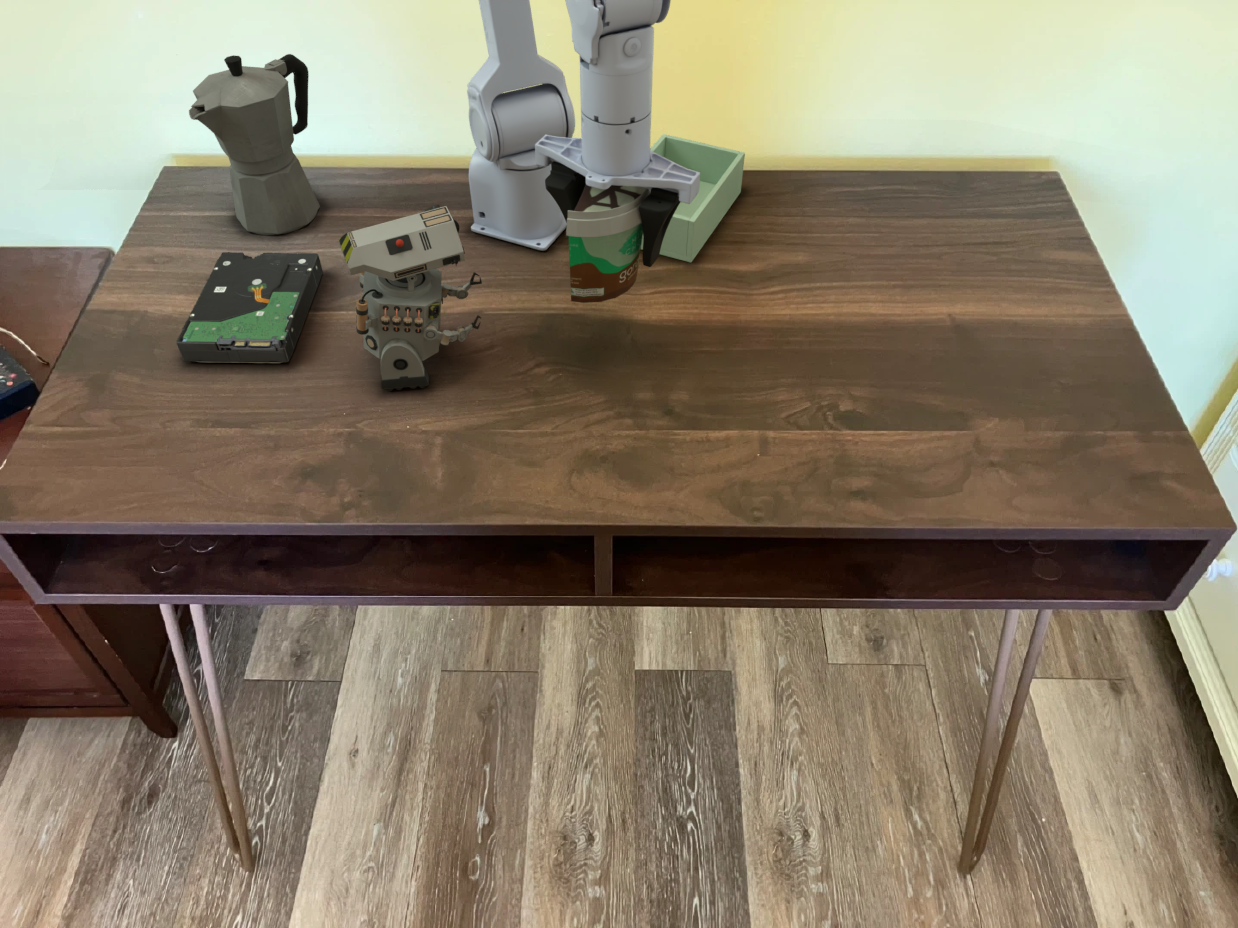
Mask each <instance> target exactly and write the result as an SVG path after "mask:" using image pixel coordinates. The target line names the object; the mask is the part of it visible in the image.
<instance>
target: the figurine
mask: <svg viewBox="0 0 1238 928" xmlns="http://www.w3.org/2000/svg"><path fill="white" fill-rule="evenodd" d="M450 212H451V211H449V209H448V207H447V205H445V206H441V205H440V204H434V205H433V206H430V207H427V208H425V209H424V210H423V212H418V213H415V214H414V213H413V214H410V215H407V216H403V217H400V218H396V219H392V220H388V221H385V222H382V223H378V224H374V225H370V226H366V227H363V228H359V229H355V230H352V231H349V232H348V231H347V232H346V233H345V234H344V235H342V236H341V237H339V238H338V239H337V240H338V243H339V246H340V249H341V252H342V254H343V258H344V261H345V264H346V266H347V268H348V271H349V275H350V276H354V275H358V274H359V287H360V288H361V289H362V296H361V298H358V299H357V300H356V307H355V312H356V315H355V323H356V328H355V329H356V330H355V331H356V334H359V335H360V336H361V335H362V336H363V349H365V350H366V351H368V352H369V354H370V353H371V354H372V355H373V356H374V357H376V358H378V359H379V360H380V390H387V391H389V392H391V391H393V390H394V389H395V390H397V391H401V390H402V389H403V388H410V389H412V390H413V389H417V387H419V388H421V389H424V388H426V386H429V385H430V383H429V382H430V380H429V379H430V377H429V374H428V371H427V369H426V368H425V367H424V364H423V362H424V361H425V360H427V359H429V358H431V357H432V356H434V355H435V354H437V353H439V350H440V349H439V348H440V345H443V346H449V345H450V342H451V343H453V342H456V341H458V342H460V343H461V342H464V341H465V340H466V339H467V337H468V333H469V332H471V331H473V329H475V330H479V329H480V325H481V321H479V323H478V324H477V322H478V320H479V319H482V316H480V315H479V314H478V315H477V316H476V317H475V318H474V321H473V322H471V323H470V324H468V325H467V326H465V327H464V326H462V325H459V326H458V327H457V328H455V330H450V329H444V330H443V331H441V318H442V317H441V315H442V314H441V313H442V305H443V304H444V299H447V297H455V298H456V299H458V300H464V299H467V298H468V296H469V290H470V289H471V288H472V287H473V286H475V285H482V283H483V282H482V278H481V276H480V274H478V273H477V272H475V271H473V273H472V275H471V277H470V280H469V281H468V282H466V284H464V285H457V286H453V285H450V284H448V283H446V282H445V283H442V271H441V270H439V269H440V268H444V267H447V266H450V265H455V266H456V267H457V266H458V265H459V263H461V262H464V261H466V259H465V258H466V257H465V254H466V253H465V248H464V245H462V241H461V239H460V235H459V232H460V224H459V222H458V221H457V220H456V219H454V218H453V216H452V214H451V213H450ZM475 276H477V277H479V281H475ZM476 324H477V325H476Z"/></svg>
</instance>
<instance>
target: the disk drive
mask: <svg viewBox="0 0 1238 928" xmlns="http://www.w3.org/2000/svg"><path fill="white" fill-rule="evenodd" d="M323 273H324V271H323V267H322V263H321V259H320V255H319V254H318V253H317V252H316V253H315V252H312V253H309V252H304V253H303V252H302V253H301V252H300V253H299V252H298V253H295V252H294V253H293V252H291V253H290V252H262V253H261V254H259V255H257V256H254V258H253V257H252V256H249V255H247V254H246V255H245V253H244V252H239V251H238V252H237V251H236V252H234V251H233V252H231V251H229V252H227V251H223V252H221V253H220V256H219V257H218V258H217V260H216V262H215V264H214V266H213V269H212V270H211V272H210V274H209V276H208V278H207V279H206V282H205V285H204V286H203V289H202V290H201V293H200V294H199V296H198V297H197V300H196V302H195V304H194V306H193V308H192V309H191V311H190V313H189V315H188V318H187V320H186V321H185V323H184V325H183V326H182V328H181V332H180V334H179V335H178V337H177V339H176V346H177V348H178V350H179V352H180V354H181V357H182V359H183V361H184V362H197V363H232V364H233V363H237V364H240V363H242V364H243V363H248V364H251V363H252V364H281V363H288V362H290V359H291V358H292V356H293V354H294V351H295V348H296V346H297V343H298V340H299V338H300V335H301V333H302V330H303V327H304V324H305V321H306V319H307V316H308V314H309V311H310V308H311V306H312V303H313V301H314V298H315V296H316V292H317V289H318V287H319V285H320V281H321V278H322V275H323Z"/></svg>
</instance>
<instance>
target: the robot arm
mask: <svg viewBox="0 0 1238 928" xmlns="http://www.w3.org/2000/svg"><path fill="white" fill-rule="evenodd" d="M671 2H672V0H565V6H566V9H567V14H568V16H569V22H570V26H571V42H572V43H573V50H574V52H576V54H578V55H579V57H578V58H579V87H580V88H579V89H580V92H579V94H580V95H579V96H580V132H581V137H574V133H575V132H576V131H575V130H576V115H575V109H574V106H573V102H572V99H571V96H570V93H569V91H568V87H567V86H568V85H567V82H566V77H565V75H564V72H563V71H562V69H561V68H560V67H559V66H558V65H556V63H554V62H552V61H551V60H548V59H547V58H545V57H543V56H542V55H540V54H539V53H538V47H537V46H538V45H537V41H536V35H535V28H534V22H533V20H534V19H533V15H532V14H533V13H532V6H531V1H530V0H478V5H479V10H480V15H481V22H482V27H483V33H484V37H485V38H484V39H485V42H486V49H487V55H488V56H487V59H486V60H485V62H484V63H483V64H482V65H481V66H480V68H479V69H478V70H477V71H476V73H475V74H474V75H473V76H472V77H471V79H469V81H468V82H467V85H466V86H467V90H466V93H467V94H466V95H467V100H468V123H469V128H470V132H471V133H470V134H471V136H472V139H473V143H474V145H475V147H476V148H475V149H474V151H473V153H472V155H471V157H470V161H469V166H468V184H469V193H470V199H471V209H472V215H473V223H472V225H471V226H470V230H471V232H473V233H477V234H480V235H484V236H487V237H491V238H495V239H498V240H502V241H505V242H509V243H513V244H516V245H520V246H524V247H527V248H531V249H533V250H537V251H542V252H544V251H547V250H548V248H549V247H550V246H551V245H552V244H553V243H554V242H555V241H556V239H558V237H559V236H560V235H561V234H562V233H563V231H565V230H566V228H567V218H568V210H570V211H574V210H575V208H576V206H577V204H578V202H579V199H580V197H581V195H582V192H583V190H584V187H585V185H588V186H590V187H594V188H598V189H603V190H605V189H608V188H609V187H610V186H611V185H617V186H635V187H643V188H647V189H651V193H650V194H649V195H648V196H647V197H646V198H645V199H644V201H643V202H642V203H641V204H640V205H639V213H640V216H641V221H642V227H643V250H642V265H643V267H647V268H652V266H653V265H654V264H655V262H656V261H657V260H658V259H659V257H660V255H661V254H660V249H661V245H662V242H663V238H664V236H665V233H666V230H667V228H668V225H669V223H670V221H671V219H672V217H673V215H674V213H675V211H676V209H677V207H678V206H679V204H680V202H683V203H687V204H690V203H691V202H692V201H693V200H694V198H695V197H696V196H697V194H698V193H699V182H700V172H696V171H693V170H690V169H687V168H684V167H682V166H680V165H678V164H676V163H674V162H672V161H670V160H668V159H666V158H664V157H662V156H660V155H659V154H657V153H655V152H653V151H651V150H650V148H651V139H652V138H651V137H652V136H651V135H652V105H653V74H654V73H653V72H654V45H655V27H654V25H655V24H660V23H662V22H663V21H664V20H665V19H666V18H667V16H668V14H669V11H670V8H671V7H670V6H671Z"/></svg>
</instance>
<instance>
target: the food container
mask: <svg viewBox="0 0 1238 928" xmlns="http://www.w3.org/2000/svg"><path fill="white" fill-rule="evenodd" d="M650 193H651V189H647V188H643V187H635V186H617V185H611V186H610V187H609V188H608V189H605V190H603V189H598V188H594V187H590V186H588V185H585V187H584V190H583V192H582V195H581V197H580V199H579V202H578V204H577V206H576V208H575V210H574V211H570V210H568V218H567V227H566V228H565V230H566V231H565V236H566V237H568V259H569V260H568V261H569V281H570V302H573V303H580V304H581V303H582V304H587V303H590V304H591V303H603V302H606V301H609V300H614V299H616V298H619V297H620V296H621V295H624V294H625V293H627V292H629V290H630V289H631V288H632V287H633V286H634V285H635V283H636V281H637V277H638V271H639V263H640V258H641V250H642V249H641V244H642V237H643V227H642V221H641V216H640V213H639V205H640V204H641V203H642V202H643V201H644V199H645V198H646V197H647V196H648V195H649V194H650Z"/></svg>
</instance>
